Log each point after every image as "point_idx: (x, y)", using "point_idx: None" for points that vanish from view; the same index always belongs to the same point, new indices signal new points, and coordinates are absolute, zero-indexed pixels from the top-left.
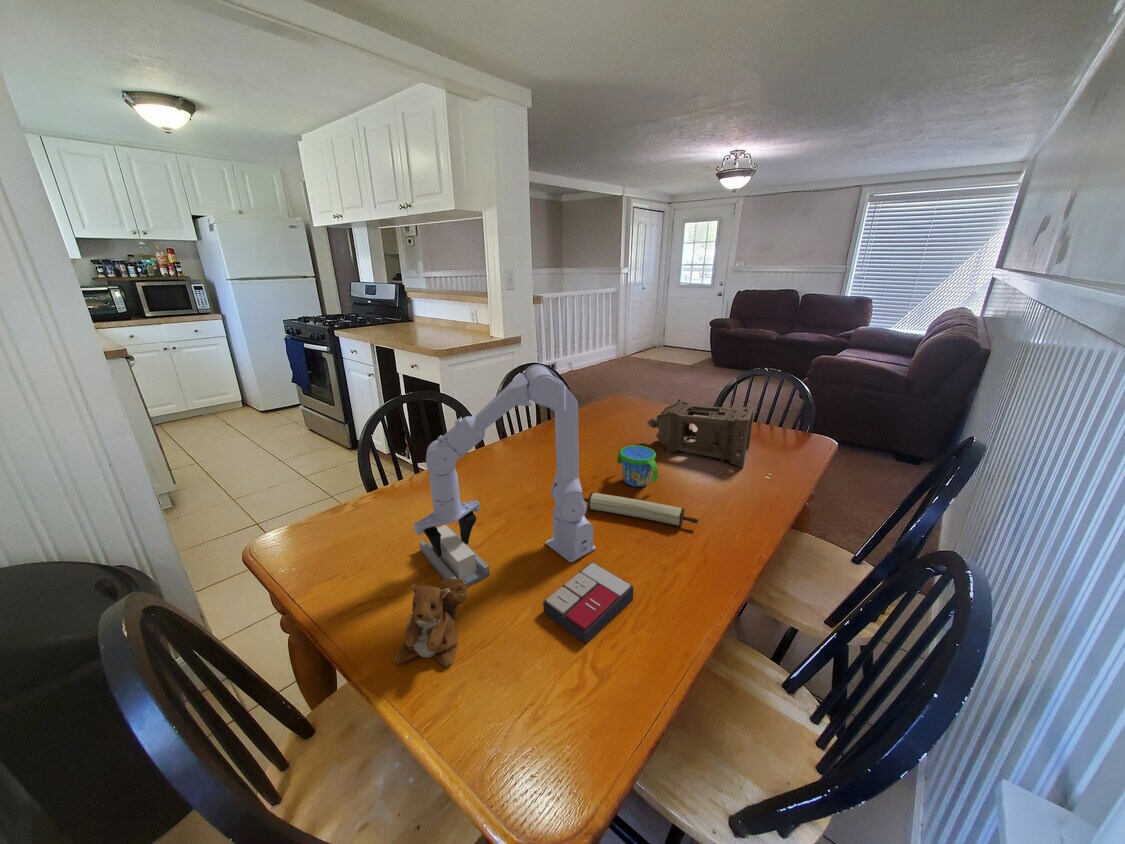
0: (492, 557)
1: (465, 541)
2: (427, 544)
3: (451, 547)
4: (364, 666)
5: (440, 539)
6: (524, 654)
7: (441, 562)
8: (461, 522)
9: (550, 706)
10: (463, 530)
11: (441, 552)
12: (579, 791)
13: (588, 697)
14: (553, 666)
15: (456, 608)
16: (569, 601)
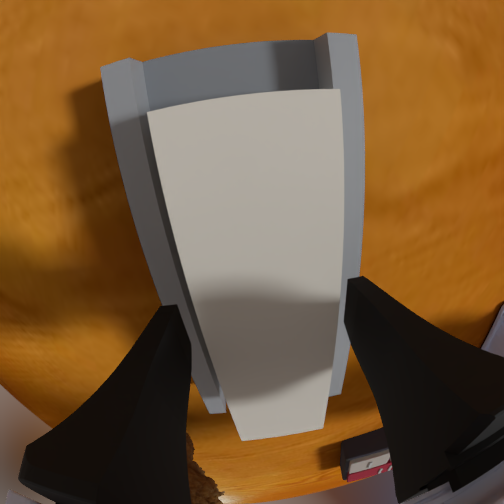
0: (394, 297)
1: (351, 342)
2: (163, 62)
3: (253, 381)
4: (38, 410)
5: (187, 477)
6: (269, 468)
7: (187, 323)
8: (415, 412)
9: (258, 487)
10: (384, 377)
11: (189, 372)
12: (242, 501)
13: (294, 486)
14: (289, 475)
15: (192, 454)
16: (371, 466)
